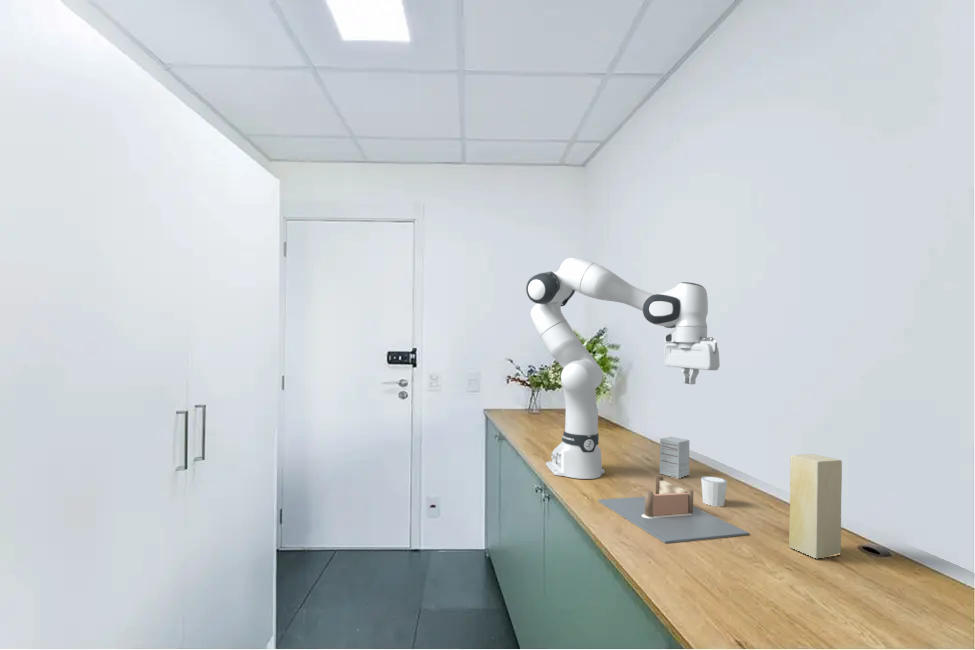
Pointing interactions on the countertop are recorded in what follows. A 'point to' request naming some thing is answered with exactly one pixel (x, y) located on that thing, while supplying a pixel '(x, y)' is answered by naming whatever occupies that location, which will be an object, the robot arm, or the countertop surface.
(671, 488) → the fixed fence panel
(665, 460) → the supplement box
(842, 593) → the countertop surface
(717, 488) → the white cup
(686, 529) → the card
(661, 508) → the hinged fence panel
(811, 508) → the toy refrigerator
